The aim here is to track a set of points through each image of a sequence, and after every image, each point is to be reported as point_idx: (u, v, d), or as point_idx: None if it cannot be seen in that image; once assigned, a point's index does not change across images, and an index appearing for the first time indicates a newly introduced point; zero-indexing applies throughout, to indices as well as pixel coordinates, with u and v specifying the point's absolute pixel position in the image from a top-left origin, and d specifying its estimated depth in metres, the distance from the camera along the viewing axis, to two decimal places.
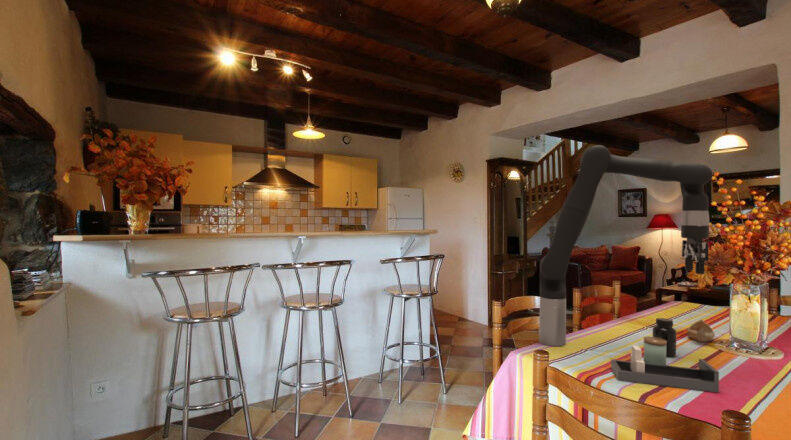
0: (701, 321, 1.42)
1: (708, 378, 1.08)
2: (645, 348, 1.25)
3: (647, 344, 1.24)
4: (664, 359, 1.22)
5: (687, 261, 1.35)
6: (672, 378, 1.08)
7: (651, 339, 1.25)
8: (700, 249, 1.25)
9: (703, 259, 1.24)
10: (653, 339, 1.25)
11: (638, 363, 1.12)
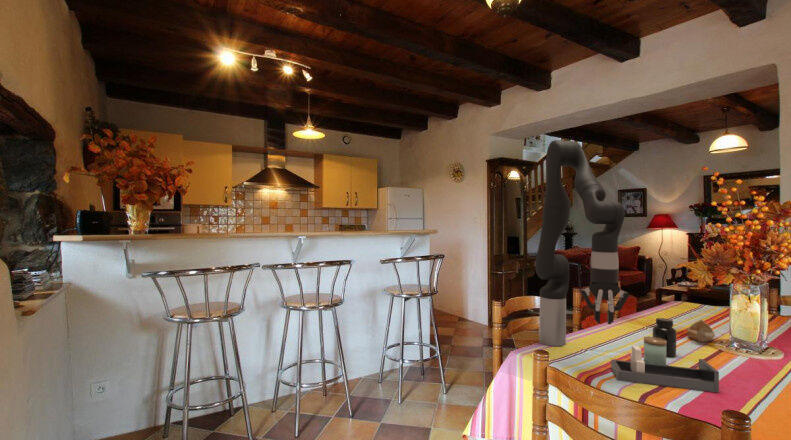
0: (701, 321, 1.42)
1: (708, 378, 1.08)
2: (645, 348, 1.25)
3: (647, 344, 1.24)
4: (664, 359, 1.22)
5: None
6: (672, 378, 1.08)
7: (651, 339, 1.25)
8: None
9: None
10: (653, 339, 1.25)
11: (638, 363, 1.12)
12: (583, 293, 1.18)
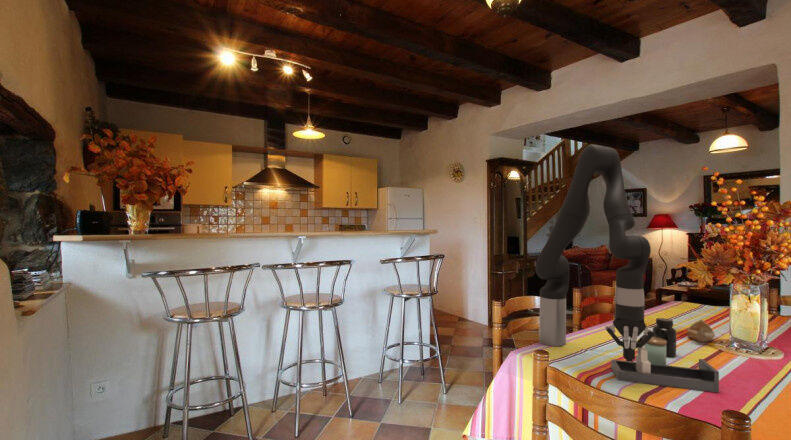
0: (701, 321, 1.42)
1: (708, 378, 1.08)
2: (645, 348, 1.25)
3: (647, 344, 1.24)
4: (664, 359, 1.22)
5: None
6: (672, 378, 1.08)
7: (651, 339, 1.25)
8: None
9: None
10: (653, 339, 1.25)
11: (644, 364, 1.11)
12: (609, 331, 1.16)
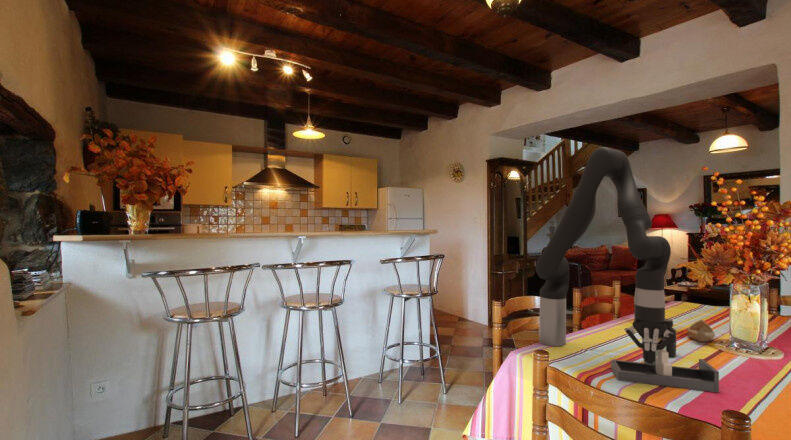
0: (701, 321, 1.42)
1: (708, 378, 1.08)
2: None
3: None
4: None
5: None
6: (672, 378, 1.08)
7: None
8: None
9: None
10: None
11: (665, 366, 1.10)
12: (629, 333, 1.14)
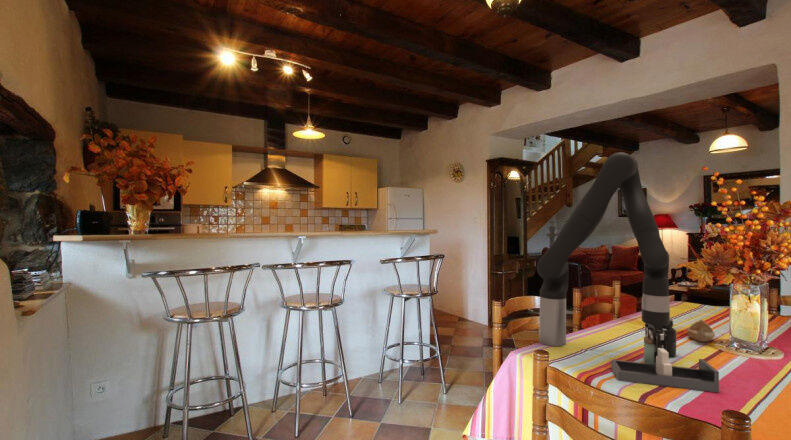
0: (701, 321, 1.42)
1: (708, 378, 1.08)
2: (645, 348, 1.25)
3: (647, 344, 1.24)
4: None
5: None
6: (672, 378, 1.08)
7: None
8: None
9: None
10: None
11: (665, 366, 1.10)
12: None
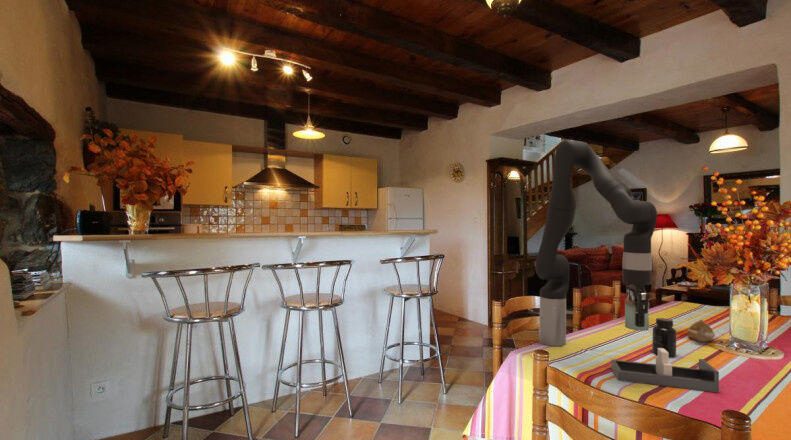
0: (701, 321, 1.42)
1: (708, 378, 1.08)
2: (626, 310, 1.16)
3: (628, 306, 1.15)
4: (646, 321, 1.13)
5: None
6: (672, 378, 1.08)
7: None
8: None
9: None
10: None
11: (665, 366, 1.10)
12: None
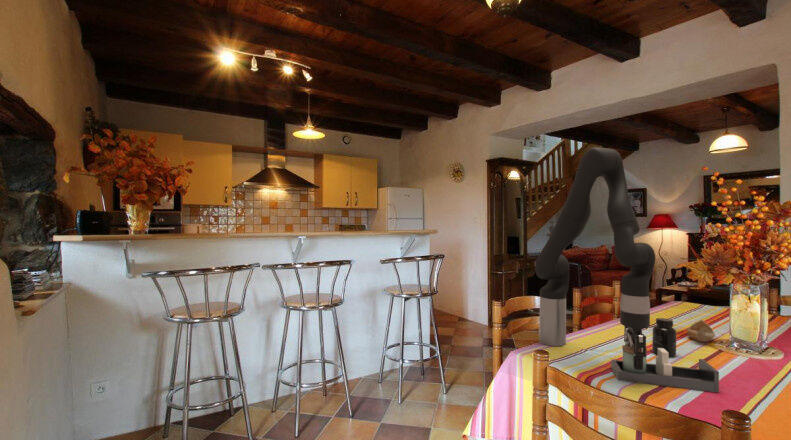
0: (701, 321, 1.42)
1: (708, 378, 1.08)
2: (624, 357, 1.15)
3: (625, 353, 1.14)
4: (644, 370, 1.12)
5: None
6: (672, 378, 1.08)
7: (630, 347, 1.15)
8: None
9: None
10: None
11: (665, 366, 1.10)
12: None
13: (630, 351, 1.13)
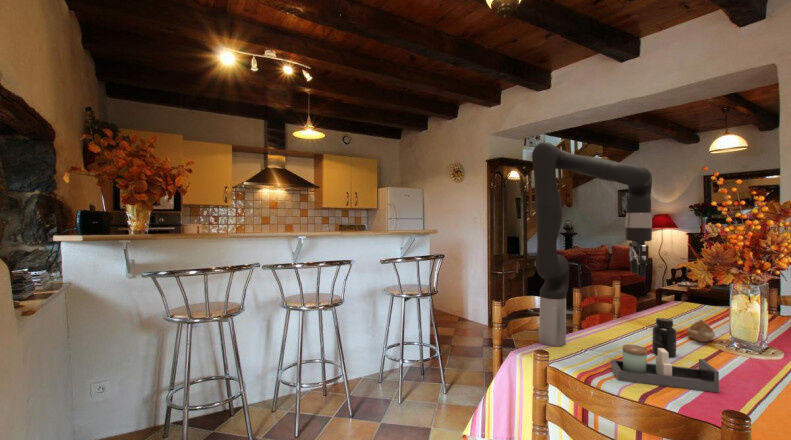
0: (701, 321, 1.42)
1: (708, 378, 1.08)
2: (624, 357, 1.15)
3: (625, 353, 1.14)
4: (644, 370, 1.12)
5: None
6: (672, 378, 1.08)
7: (630, 347, 1.15)
8: None
9: None
10: (632, 347, 1.15)
11: (665, 366, 1.10)
12: None
13: (630, 351, 1.13)
